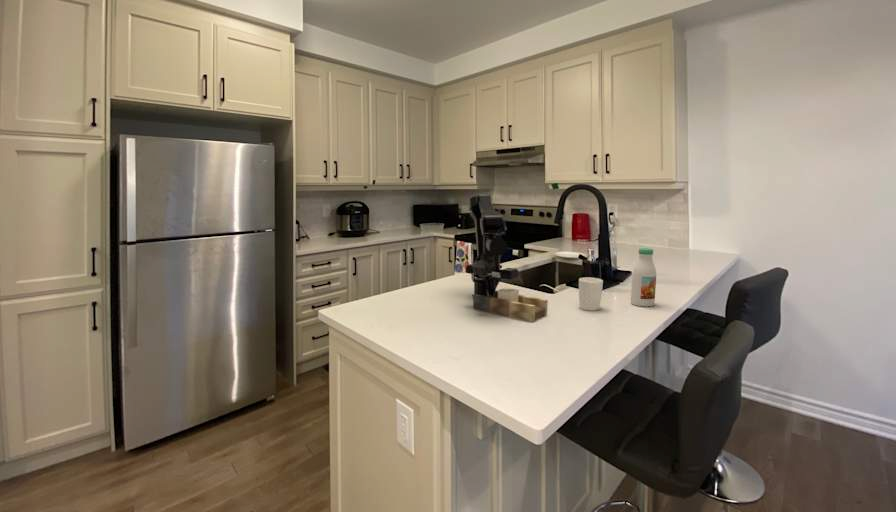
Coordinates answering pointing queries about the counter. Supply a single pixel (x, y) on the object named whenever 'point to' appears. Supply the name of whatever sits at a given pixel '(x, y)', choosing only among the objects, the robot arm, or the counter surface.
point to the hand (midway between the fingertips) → (491, 295)
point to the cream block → (508, 294)
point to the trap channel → (512, 306)
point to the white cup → (590, 293)
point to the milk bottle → (644, 279)
